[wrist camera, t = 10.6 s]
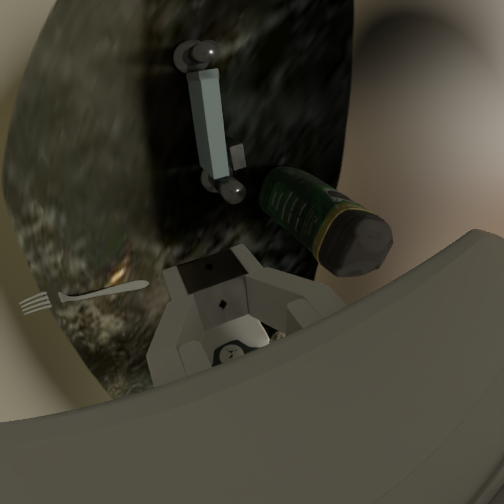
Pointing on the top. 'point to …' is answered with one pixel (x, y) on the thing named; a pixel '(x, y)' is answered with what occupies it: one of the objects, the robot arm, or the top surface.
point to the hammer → (228, 184)
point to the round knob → (195, 55)
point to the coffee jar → (326, 222)
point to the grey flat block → (208, 121)
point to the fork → (63, 297)
